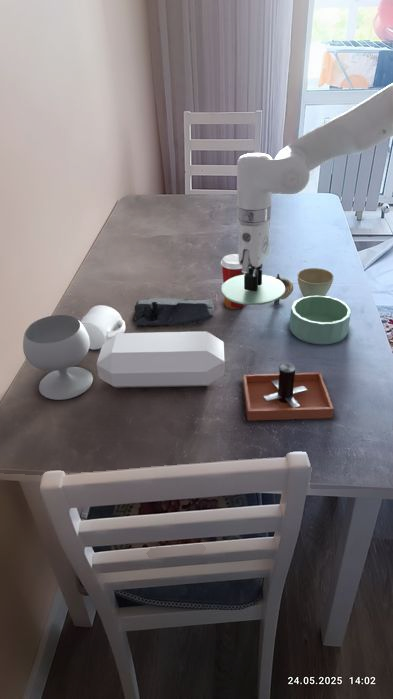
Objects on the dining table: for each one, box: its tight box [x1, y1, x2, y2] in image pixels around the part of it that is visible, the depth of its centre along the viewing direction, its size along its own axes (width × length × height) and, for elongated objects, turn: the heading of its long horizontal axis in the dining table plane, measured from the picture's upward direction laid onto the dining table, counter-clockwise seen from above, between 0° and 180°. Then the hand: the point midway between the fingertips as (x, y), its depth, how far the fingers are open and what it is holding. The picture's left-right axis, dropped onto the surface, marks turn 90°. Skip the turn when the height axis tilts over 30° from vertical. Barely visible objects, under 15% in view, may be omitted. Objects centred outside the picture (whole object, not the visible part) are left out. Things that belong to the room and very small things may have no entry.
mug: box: [80, 304, 126, 350], centre depth 123 cm, size 12×9×8 cm
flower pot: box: [296, 267, 335, 297], centre depth 138 cm, size 10×10×7 cm
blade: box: [263, 363, 307, 408], centre depth 101 cm, size 10×10×8 cm
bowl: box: [289, 295, 352, 345], centre depth 124 cm, size 15×15×6 cm
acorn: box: [273, 273, 294, 307], centre depth 134 cm, size 8×8×10 cm
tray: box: [242, 372, 335, 421], centre depth 103 cm, size 17×12×2 cm
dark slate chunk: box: [134, 297, 215, 328], centre depth 134 cm, size 15×22×5 cm
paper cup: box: [220, 253, 245, 310], centre depth 135 cm, size 8×8×14 cm
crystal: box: [96, 330, 226, 389], centre depth 109 cm, size 14×10×28 cm
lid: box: [220, 267, 285, 306], centre depth 117 cm, size 16×16×6 cm
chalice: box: [22, 314, 94, 401], centre depth 107 cm, size 14×14×15 cm
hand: (253, 286), depth 118 cm, fingers closed on lid, 2 cm apart
